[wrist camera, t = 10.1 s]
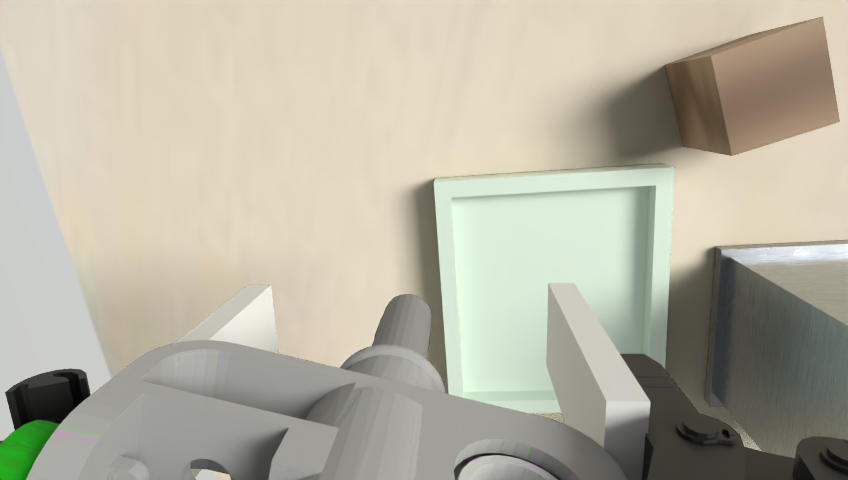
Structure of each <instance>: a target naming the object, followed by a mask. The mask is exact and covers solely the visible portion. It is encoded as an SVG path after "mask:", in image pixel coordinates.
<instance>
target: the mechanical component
mask: <svg viewBox="0 0 848 480" xmlns="http://www.w3.org/2000/svg"><path fill="white" fill-rule="evenodd" d="M430 334H431V312H430V308H429V306H428V304H427V303H426V302H425V301H424V300H423V299H421V298H420V297H418V296H415V295H410V294H404V295H399V296H397V297H394V298H393V299H392V300H391V301H390V302H389V304H388V305H387V307H386V309H385V311H384V314H383V316H382V318H381V320H380V323H379V325H378V328H377V331H376V334H375V338H374V342H373V344H372V346H371V347H367V348H364V349H362V350H360V351H358V352H356V353H355V354H353V355H352V356H350V357H349V358H348V359H347V360H346V361H345V362H344V363H343V365H342V366H341V367H340V368H337V367H333V366H328V365H324V364H320V363H316V362H312V361H307V360H303V359H299V358H295V357H291V356H286V355H282V354H278V353H274V352H270V351H266V350H261V349H257V348H253V347H249V346H245V345H240V344H236V343H231V342H225V341H215V340H195V341H184V342H179V343H173V344H169V345H166V346H163V347H159V348H157V349H155V350H152V351H150V352H148V353H146V354H145V355H143V356H141V357H140V358H138V359H137V360H136V361H134V362H133V363H132V364H130V365H129V366H128V367H127V368H125V369H124V370H123V371H121V372H120V373H119V374H118V375H116V376H115V377H114V378H112V379H111V380H110V381H109V382H107V383H106V384H105V385H103V386H102V387H101V388H100V389H98V390H97V391H96V392H94V393H93V394H92V395H90V396H89V397H88V398H87V399H85V400H84V401H83V402H82V403H81V404H79V405H78V406H77V407H76V408H75V409H74V410H73V411H72V412H71V413H70V414H69V415H68V416H67V417H66V418H65V419H64V420H63V422H62V423H61V424H58V423H53V422H49V421H43V420H35V421H32V422H30V423H27V424H24V425H23V426H21V427H20V428H18V429H17V430H15V431H14V432H13V433H12V434H10V435H9V436H8V437H7V438H6V439H5V440H4V441H3V442H2V443H0V480H196V479H195V478H194V477H193V474H192V471H191V469H209V470H213V471H217V472H221V473H225V474H230V477H231V480H627V479H626V477H625V475H624V473H623V471H622V468H621V467H620V466H619V464H618V463H617V462H616V461H615V459H614V458H613V457H612V456H611V455H610V454H609V453H608V452H607V451H606V450H604V449H603V447H602V446H600V445H599V444H598V443H597V442H595V441H594V440H593V439H591V438H590V437H588V436H586V435H585V434H583V433H582V432H580V431H578V430H576V429H574V428H572V427H570V426H568V425H566V424H563V423H561V422H558V421H556V420H552V419H549V418H546V417H542V416H538V415H533V414H529V413H525V412H521V411H517V410H513V409H508V408H504V407H500V406H496V405H492V404H487V403H483V402H479V401H475V400H471V399H467V398H462V397H458V396H454V395H450V394H446V393H445V389H444V385H443V381H442V379H441V377H440V375H439V373H438V372H437V370H436V369H435V368H434V366H433V365H432V364H431V363H430V362H429V361H428V360H427V352H428V349H429V342H430Z"/></svg>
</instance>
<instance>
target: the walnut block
mask: <svg viewBox="0 0 848 480" xmlns="http://www.w3.org/2000/svg"><path fill="white" fill-rule="evenodd" d="M665 69H666V73H667V77H668V82H669V86H670V90H671V95H672V99H673V103H674V108H675V112H676V116H677V121H678V125H679V129H680V134H681V138H682V142H683V146H684V147H689V148H694V149H699V150H705V151H710V152H715V153H720V154H725V155H730V156H733V155H736V154H740V153H743V152H746V151H749V150H752V149H755V148H759V147H762V146H765V145H768V144H771V143H774V142H778V141H781V140H784V139H787V138H790V137H793V136H796V135H800V134H803V133H806V132H809V131H812V130H815V129H819V128H822V127H825V126H828V125H831V124H834V123H838V122H840V120H839V114H838V108H837V102H836V95H835V89H834V83H833V77H832V71H831V64H830V58H829V52H828V46H827V40H826V33H825V27H824V21H823V17H820V18H815V19H811V20H807V21H803V22H799V23H795V24H791V25H787V26H783V27H779V28H775V29H771V30H767V31H763V32H759V33H755V34H752V35H749V36H746V37H743V38H740V39H737V40H735V41H732V42H729V43H726V44H723V45H720V46H717V47H715V48H712V49H709V50H706V51H703V52H700V53H697V54H695V55H692V56H689V57H686V58H683V59H680V60H678V61H675V62H672V63H669V64H666V65H665Z"/></svg>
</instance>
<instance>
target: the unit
mask: <svg viewBox="0 0 848 480" xmlns="http://www.w3.org/2000/svg"><path fill="white" fill-rule="evenodd" d="M705 400H706V402H707V403H708V404H709V405H710V406H724V407H725V408H726V409H727V410H728V411H729V413H730V414H731V415H732V416H733V417H734V418H735V420H736V421H737V422H738V423H739V424H740V425H741V427H742V428H743V429H744V430H745V431H746V433H747V434H748V435H749V436H750V437H751V438H752V440H753V441H754V442H755V443H756V444H757V445H758V447H759V448H760V449H761V450H762V451H763V452H767V453H772V454H777V455H782V456H787V457H792V458H795V454H796V448H797V445H798V444H799V442H800V441H801V440H802V439H805V438H809V437H812V436H820V437H832V438H837V439H845V440H848V240H835V241H814V242H794V243H773V244H752V245H732V246H716V249H715V263H714V277H713V291H712V305H711V320H710V334H709V348H708V362H707V377H706V391H705Z"/></svg>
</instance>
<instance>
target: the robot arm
mask: <svg viewBox="0 0 848 480" xmlns="http://www.w3.org/2000/svg"><path fill="white" fill-rule="evenodd" d="M195 340H215V341H225V342H231V343H236V344H240V345H245V346H249V347H253V348H257V349H261V350H266V351H270V352H274V353H278V354H279V352H278V343H277V334H276V325H275V316H274V307H273V298H272V289H271V285H247V286H246V287H245V288H244V289H242V290H241V291H240V292H238V293H237V294H236V295H235V296H233V297H232V298H231V299H230V300H228V301H227V302H226V303H225V304H223V305H222V306H221V307H219V308H218V309H217V310H216V311H214V312H213V313H212V314H211V315H209V316H208V317H207V318H206V319H204V320H203V321H202V322H200V323H199V324H198V325H197V326H195V327H194V328H193V329H192V330H190V331H189V332H188V333H187V334H185V335H184V336H183V337H181V338H180V339H179V340H178V341H176V342H175V343H179V342H184V341H195ZM546 366H547V369H548V372H549V375H550V378H551V382H552V385H553V388H554V391H555V394H556V397H557V400H558V403H559V406H560V409H561V413H562V416H563V419H564V422H565V424H566V425H568V426H570V427H572V428H574V429H576V430H578V431H580V432H582V433H583V434H585V435H586V436H588V437H590V438H591V439H593V440H594V441H595V442H597V443H598V444H599V445H600V446H602V447H603V449H604V450H606V451H607V452H608V453H609V454H610V455H611V456H612V457H613V458H614V459H615V461H616V462H617V463H618V464H619V466H620V467H621V468H622V471H623V473H624V475H625V477H626V479H627V480H848V440H845V439H837V438H832V437H820V436H812V437H809V438H805V439H802V440H801V441H800V442H799V444H798V445H797V448H796V454H795V458H792V457H787V456H782V455H777V454H772V453H767V452H762V451H758V450H754V449H750V448H747V447H744V446H743V442H742V440H741V437H740V435H739V434H738V433H737V432H736V431H735V430H734V429H733V428H732V427H730V426H729V425H727V424H725V423H723V422H721V421H720V420H718V419H715V418H712V417H709V416H706V415H703V414H699V412H698V411H697V410H696V409H695V407H694V406H693V405H692V403H691V402H690V401H689V400H688V398H687V397H686V396H685V394H684V393H683V392H682V391H681V389H680V388H678V387H677V384H676V383H675V382H674V380H673V379H672V378H670V375H669V374H668V373H667V371H666V370H665V369H664V368H663V366H662V365H661V364H660V363H658V362H657V361H655V360H653V359H652V358H650V357H648V356H647V355H645V354H619V352H618V350H617V349H616V347H615V346H614V344H613V343H612V341H611V340H610V338H609V337H608V335H607V333H606V332H605V330H604V329H603V327H602V326H601V324H600V323H599V321H598V319H597V318H596V316H595V315H594V313H593V312H592V310H591V309H590V307H589V305H588V304H587V302H586V301H585V299H584V298H583V296H582V295H581V293H580V291H579V290H578V288H577V287H576V285H575V284H574V283H548V315H547V355H546ZM5 393H6V397H7V401H8V405H9V409H10V413H11V417H12V421H13V424H14V429H15V430H17V429H18V428H20V427H21V426H23V425H24V424H27V423H30V422H32V421H35V420H43V421H49V422H53V423H58V424H61V423H62V422H63V420H64V419H65V418H66V417H67V416H68V415H69V414H70V413H71V412H72V411H73V410H74V409H75V408H76V407H77V406H78V405H79V404H81V403H82V402H83V401H84V400H85V399H87V398H88V397H89V396H90V389H89V385H88V381H87V375H86V373H85V372H84V371H82V370H79V369H63V370H55V371H51V372H46V373H42V374H39V375H36V376H33V377H31V378H28V379H25V380H24V381H22V382H20V383H18V384H16V385H14V386H13V387H12V388H10V389H9V390H8V391H7V392H5ZM2 442H3V441H0V443H2ZM200 470H201V469H191V471H192V474H193V477H194V478H195V477H196V476H197V474H198V473H199V472H200Z"/></svg>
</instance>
